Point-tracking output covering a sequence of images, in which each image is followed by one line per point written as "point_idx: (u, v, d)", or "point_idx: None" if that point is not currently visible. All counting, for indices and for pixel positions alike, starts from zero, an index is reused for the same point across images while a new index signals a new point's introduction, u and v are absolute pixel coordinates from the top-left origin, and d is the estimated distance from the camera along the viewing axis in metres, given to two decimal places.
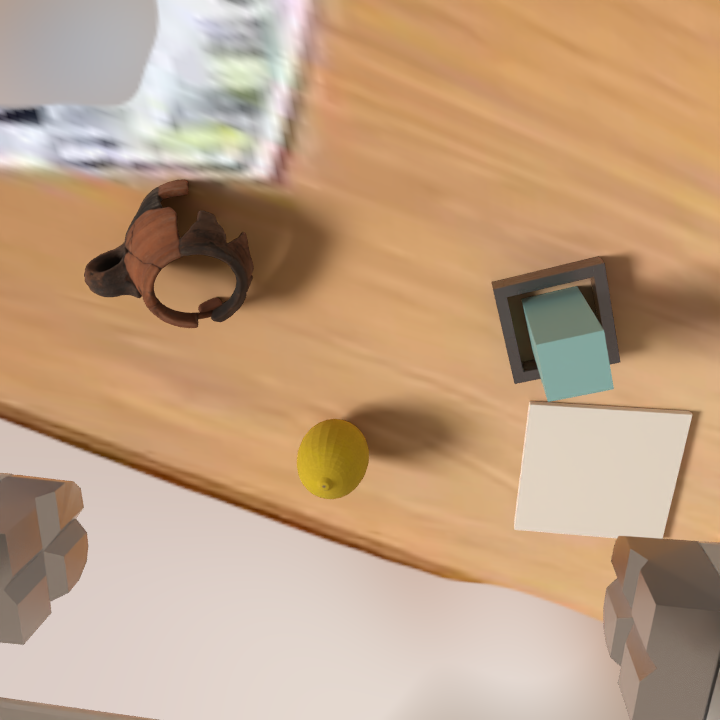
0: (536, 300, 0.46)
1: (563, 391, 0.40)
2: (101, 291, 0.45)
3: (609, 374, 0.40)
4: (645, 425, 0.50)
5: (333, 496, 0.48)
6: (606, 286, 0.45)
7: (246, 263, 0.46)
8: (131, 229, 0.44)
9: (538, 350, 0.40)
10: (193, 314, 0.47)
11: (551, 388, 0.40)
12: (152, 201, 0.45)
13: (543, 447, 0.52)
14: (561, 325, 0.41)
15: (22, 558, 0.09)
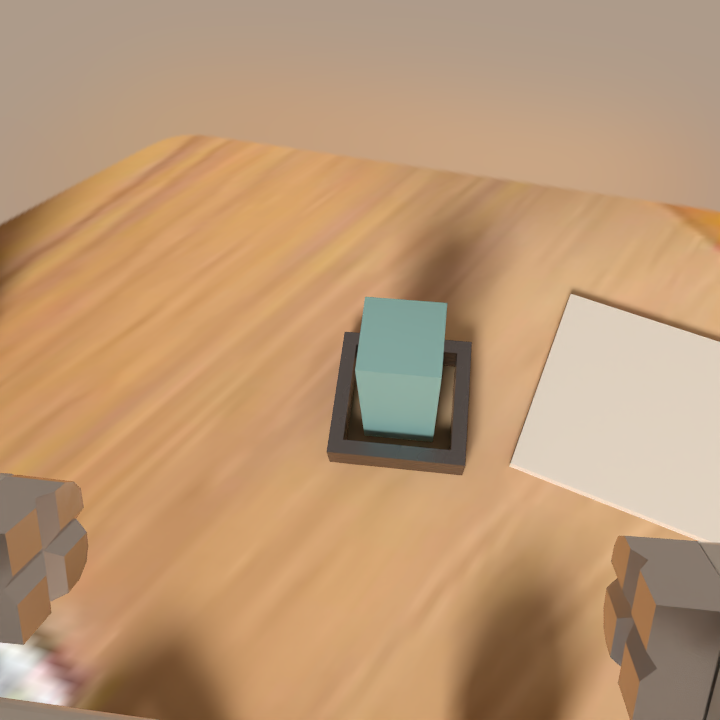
0: None
1: (432, 356, 0.30)
2: None
3: (425, 303, 0.31)
4: (574, 341, 0.39)
5: None
6: None
7: None
8: None
9: (363, 369, 0.30)
10: None
11: (422, 368, 0.30)
12: None
13: (584, 465, 0.36)
14: None
15: (22, 558, 0.09)
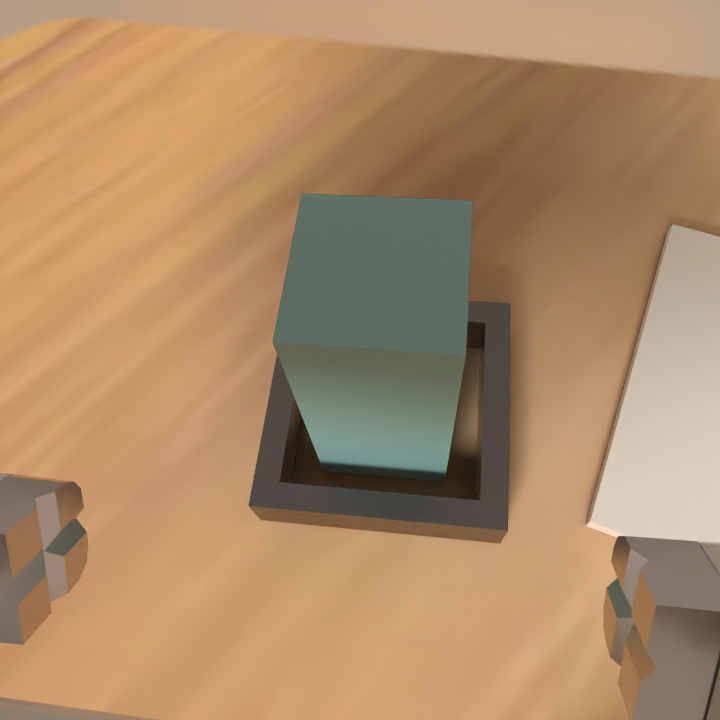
0: None
1: (443, 309, 0.14)
2: None
3: (426, 201, 0.15)
4: (687, 302, 0.23)
5: None
6: None
7: None
8: None
9: (291, 340, 0.13)
10: None
11: (422, 336, 0.13)
12: None
13: None
14: None
15: (22, 558, 0.09)
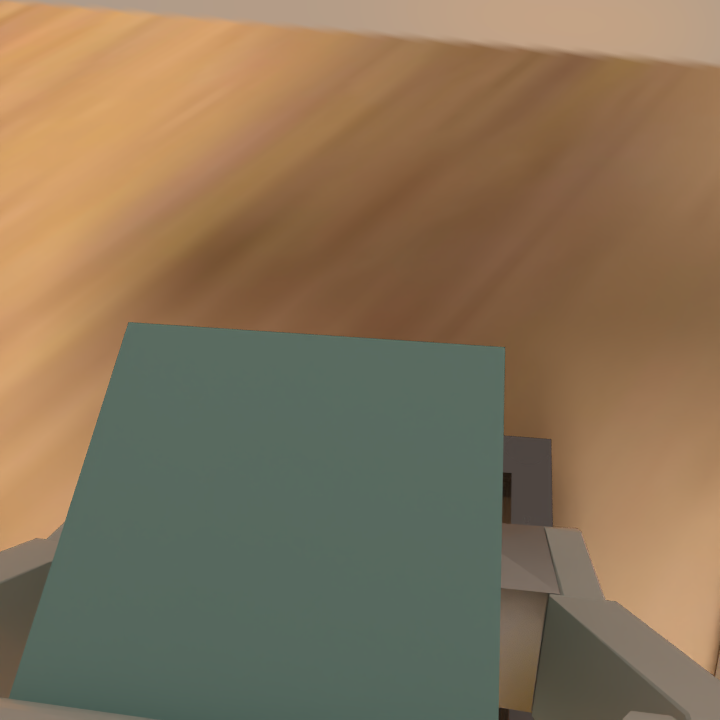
0: None
1: (434, 662, 0.05)
2: None
3: (400, 349, 0.07)
4: None
5: None
6: None
7: None
8: None
9: None
10: None
11: None
12: None
13: None
14: None
15: None
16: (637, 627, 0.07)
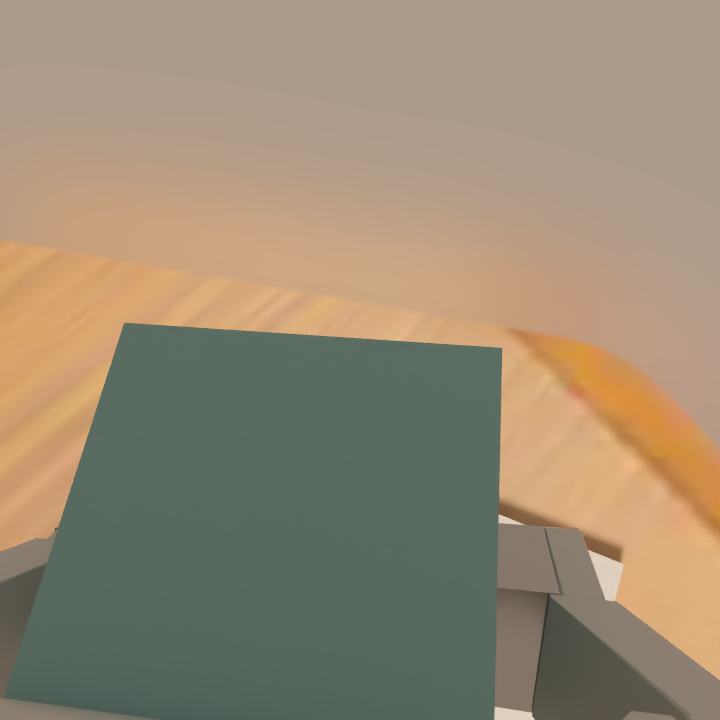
0: None
1: (430, 665, 0.05)
2: None
3: (397, 349, 0.07)
4: None
5: None
6: None
7: None
8: None
9: None
10: None
11: None
12: None
13: None
14: None
15: None
16: (638, 627, 0.07)
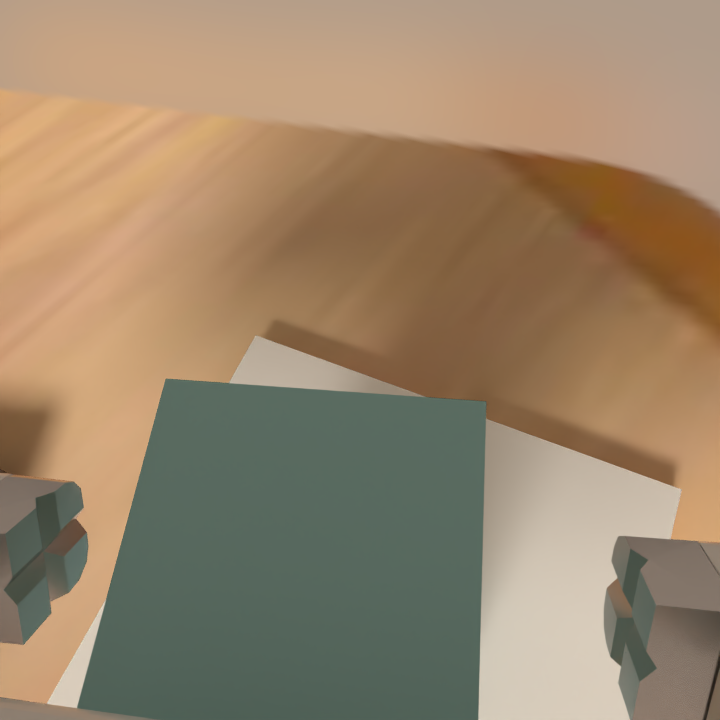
0: None
1: (426, 669, 0.06)
2: None
3: (397, 403, 0.08)
4: None
5: None
6: None
7: None
8: None
9: None
10: None
11: None
12: None
13: None
14: None
15: (22, 558, 0.09)
16: None
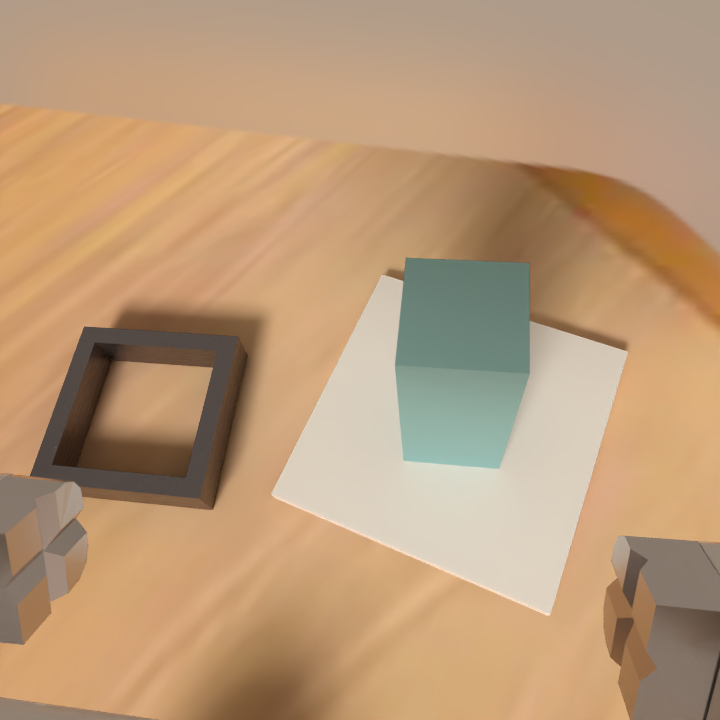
0: None
1: (512, 341, 0.20)
2: None
3: (496, 264, 0.21)
4: (378, 334, 0.31)
5: None
6: (116, 330, 0.30)
7: None
8: None
9: (407, 364, 0.20)
10: None
11: (498, 361, 0.19)
12: None
13: (365, 496, 0.27)
14: None
15: (22, 558, 0.09)
16: None
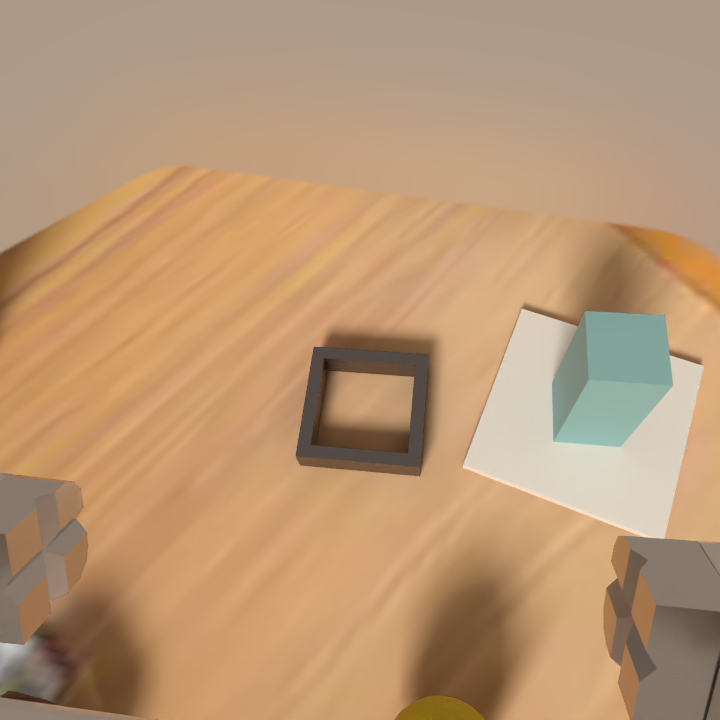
0: (556, 420, 0.39)
1: (660, 365, 0.32)
2: None
3: (644, 315, 0.33)
4: (524, 353, 0.43)
5: None
6: (338, 349, 0.43)
7: None
8: None
9: (596, 379, 0.32)
10: None
11: (653, 377, 0.32)
12: None
13: (529, 465, 0.39)
14: (576, 366, 0.35)
15: (22, 558, 0.09)
16: None
